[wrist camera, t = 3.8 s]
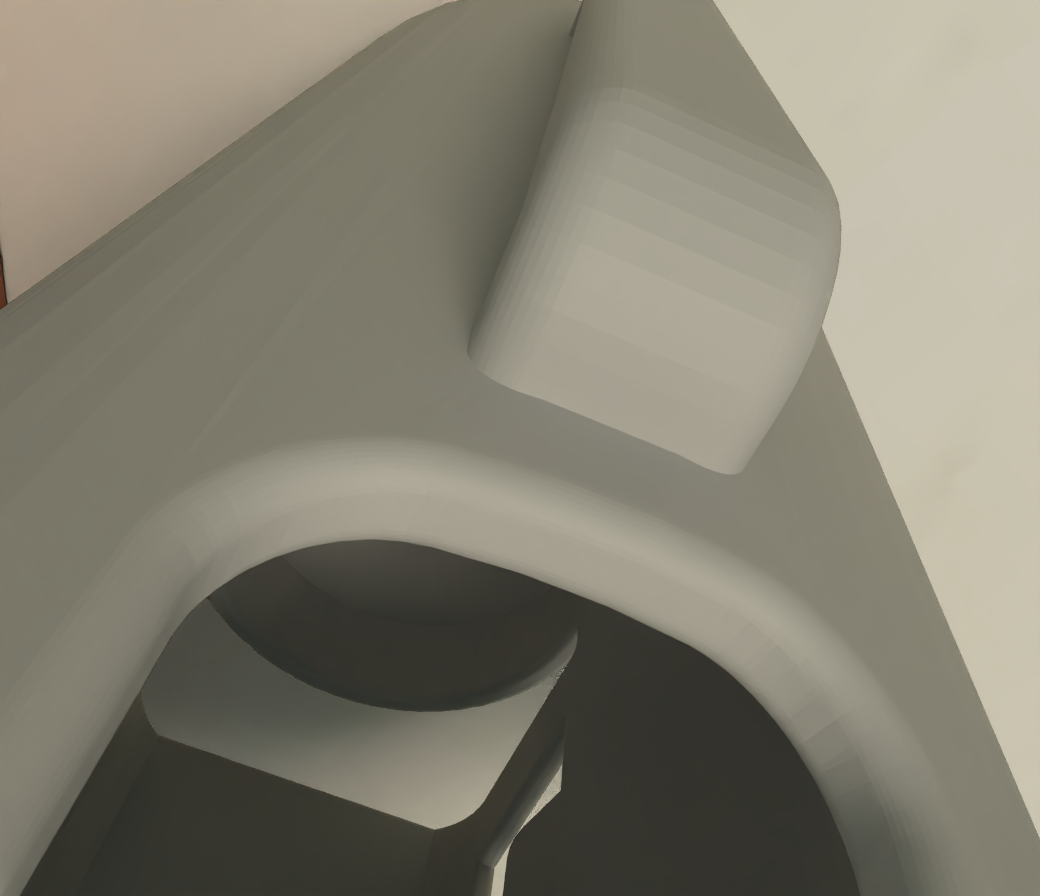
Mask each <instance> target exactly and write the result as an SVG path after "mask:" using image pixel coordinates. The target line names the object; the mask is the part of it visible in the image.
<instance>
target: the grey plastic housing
mask: <svg viewBox="0 0 1040 896" xmlns="http://www.w3.org/2000/svg"><path fill="white" fill-rule="evenodd" d="M840 246H841V219H840V211H839V204H838V201H837V198H836V195H835V193H834V190H833V188H832V185H831V183H830V181H829V180H828V178H827V176H826V175H825V173H824V171H823V170H822V168H821V167H820V165H819V164H818V162H817V161H816V159H815V158H814V156H813V154H812V153H811V151H810V150H809V148H808V147H807V145H806V144H805V142H804V141H803V139H802V138H801V136H800V134H799V133H798V131H797V130H796V128H795V127H794V125H793V124H792V122H791V121H790V119H789V117H788V116H787V114H786V113H785V111H784V110H783V108H782V107H781V105H780V104H779V102H778V100H777V99H776V97H775V96H774V94H773V93H772V91H771V90H770V88H769V87H768V85H767V83H766V82H765V80H764V79H763V77H762V76H761V74H760V73H759V71H758V70H757V68H756V66H755V65H754V63H753V62H752V60H751V59H750V57H749V56H748V54H747V53H746V51H745V49H744V48H743V46H742V45H741V43H740V42H739V40H738V39H737V37H736V36H735V34H734V33H733V31H732V29H731V28H730V26H729V25H728V23H727V22H726V20H725V19H724V17H723V16H722V14H721V12H720V11H719V9H718V8H717V6H716V5H715V3H714V2H713V0H582V2H581V1H577V0H460V1H456V2H451V3H447V4H444V5H442V6H440V7H437V8H435V9H432V10H430V11H427V12H425V13H423V14H420V15H418V16H415V17H413V18H411V19H409V20H407V21H406V22H404V23H403V24H401V25H400V26H398V27H396V28H395V29H393V30H392V31H390V32H388V33H387V34H385V35H384V36H382V37H380V38H379V39H377V40H376V41H375V42H373V43H372V44H370V45H369V46H368V47H366V48H365V49H363V50H362V51H361V52H359V53H358V54H357V55H355V56H354V57H352V58H351V59H350V60H348V61H347V62H345V63H344V64H343V65H341V66H340V67H338V68H337V69H336V70H334V71H333V72H331V73H330V74H329V75H327V76H326V77H324V78H323V79H322V80H320V81H319V82H317V83H316V84H315V85H313V86H312V87H310V88H309V89H308V90H306V91H305V92H303V93H302V94H301V95H299V96H298V97H296V98H295V99H294V100H292V101H291V102H290V103H288V104H287V105H285V106H284V107H283V108H281V109H280V110H278V111H277V112H276V113H274V114H273V115H271V116H270V117H269V118H267V119H266V120H264V121H263V122H262V123H260V124H259V125H257V126H256V127H255V128H253V129H252V130H250V131H249V132H248V133H246V134H245V135H243V136H242V137H241V138H239V139H238V140H236V141H235V142H234V143H232V144H231V145H229V146H228V147H227V148H225V149H224V150H223V151H221V152H220V153H218V154H217V155H216V156H214V157H213V158H211V159H210V160H209V161H207V162H206V163H204V164H203V165H202V166H200V167H199V168H197V169H196V170H195V171H193V172H192V173H190V174H189V175H188V176H186V177H185V178H183V179H182V180H181V181H179V182H178V183H176V184H175V185H174V186H172V187H171V188H169V189H168V190H167V191H165V192H164V193H162V194H161V195H160V196H158V197H157V198H156V199H154V200H153V201H151V202H150V203H149V204H147V205H146V206H144V207H143V208H142V209H140V210H139V211H137V212H136V213H135V214H133V215H132V216H130V217H129V218H128V219H126V220H125V221H123V222H122V223H121V224H119V225H118V226H116V227H115V228H114V229H112V230H111V231H109V232H108V233H107V234H105V235H104V236H102V237H101V238H100V239H98V240H97V241H95V242H94V243H93V244H91V245H90V246H89V247H87V248H86V249H84V250H83V251H82V252H80V253H79V254H77V255H76V256H75V257H73V258H72V259H70V260H69V261H68V262H66V263H65V264H63V265H62V266H61V267H59V268H58V269H56V270H55V271H54V272H52V273H51V274H49V275H48V276H47V277H45V278H44V279H42V280H41V281H40V282H38V283H37V284H35V285H34V286H33V287H31V288H30V289H29V290H27V291H26V292H24V293H23V294H22V295H20V296H19V297H17V298H16V299H15V300H13V301H12V302H10V303H9V304H8V305H6V306H5V307H3V308H2V309H1V310H0V896H491V890H492V882H493V875H494V867H495V866H496V865H497V863H498V862H499V860H500V859H501V857H502V855H503V854H504V852H505V851H506V849H507V848H508V846H509V845H510V843H511V842H512V840H513V839H514V840H513V842H512V844H511V846H510V849H509V853H508V857H507V864H506V872H505V881H504V889H503V896H1040V838H1039V836H1038V834H1037V831H1036V829H1035V827H1034V824H1033V822H1032V820H1031V817H1030V815H1029V813H1028V810H1027V808H1026V806H1025V803H1024V801H1023V799H1022V796H1021V794H1020V792H1019V789H1018V787H1017V785H1016V782H1015V780H1014V778H1013V775H1012V773H1011V771H1010V768H1009V766H1008V764H1007V761H1006V759H1005V757H1004V754H1003V752H1002V750H1001V747H1000V745H999V743H998V740H997V738H996V735H995V733H994V731H993V728H992V726H991V724H990V721H989V719H988V717H987V714H986V712H985V710H984V707H983V705H982V703H981V700H980V698H979V696H978V693H977V691H976V689H975V686H974V684H973V681H972V679H971V677H970V674H969V672H968V670H967V667H966V665H965V663H964V660H963V658H962V656H961V653H960V651H959V649H958V646H957V644H956V642H955V639H954V637H953V634H952V632H951V630H950V627H949V625H948V623H947V620H946V618H945V616H944V613H943V611H942V609H941V606H940V604H939V602H938V599H937V597H936V595H935V592H934V590H933V588H932V585H931V583H930V580H929V578H928V576H927V573H926V571H925V569H924V566H923V564H922V562H921V559H920V557H919V555H918V552H917V550H916V548H915V545H914V543H913V541H912V538H911V536H910V533H909V531H908V529H907V526H906V524H905V522H904V519H903V517H902V515H901V512H900V510H899V508H898V505H897V503H896V501H895V498H894V496H893V494H892V491H891V489H890V487H889V484H888V482H887V479H886V477H885V475H884V472H883V470H882V468H881V465H880V463H879V461H878V458H877V456H876V454H875V451H874V449H873V447H872V444H871V442H870V440H869V437H868V435H867V432H866V430H865V428H864V425H863V423H862V421H861V418H860V416H859V414H858V411H857V409H856V407H855V404H854V402H853V400H852V397H851V395H850V393H849V390H848V388H847V386H846V383H845V381H844V378H843V376H842V374H841V371H840V369H839V367H838V364H837V362H836V360H835V357H834V355H833V353H832V350H831V348H830V346H829V343H828V341H827V339H826V336H825V334H824V331H823V329H822V327H821V326H822V323H823V320H824V317H825V314H826V311H827V308H828V305H829V302H830V299H831V295H832V291H833V287H834V283H835V279H836V275H837V269H838V263H839V257H840ZM206 597H208V599H209V600H210V602H211V603H212V605H213V606H214V608H215V609H216V611H217V612H218V613H219V614H220V616H221V617H222V618H223V619H224V620H225V622H226V623H227V624H228V625H229V627H230V628H231V629H232V630H233V631H234V632H235V633H236V634H237V635H238V636H239V637H240V638H241V639H242V640H243V641H244V642H245V643H247V644H248V645H249V646H250V647H251V648H253V649H254V650H255V651H256V652H257V653H258V654H260V655H261V656H262V657H264V658H265V659H267V660H268V661H269V662H271V663H272V664H274V665H275V666H276V667H278V668H280V669H281V670H283V671H285V672H286V673H288V674H290V675H291V676H293V677H295V678H297V679H299V680H301V681H303V682H305V683H307V684H309V685H311V686H313V687H315V688H317V689H320V690H322V691H325V692H327V693H330V694H332V695H335V696H338V697H341V698H344V699H347V700H351V701H354V702H358V703H362V704H366V705H370V706H375V707H381V708H387V709H394V710H403V711H417V712H435V711H450V710H461V709H467V708H472V707H478V706H483V705H486V704H490V703H494V702H497V701H501V700H504V699H506V698H509V697H512V696H514V695H517V694H519V693H522V692H524V691H526V690H528V689H530V688H532V687H534V686H536V685H538V684H539V683H541V682H542V681H544V680H546V679H547V678H549V677H550V676H552V675H553V674H555V673H556V672H557V671H558V670H560V669H561V668H562V667H564V666H565V665H566V664H567V663H568V664H567V666H566V668H565V669H564V671H563V673H562V674H561V676H560V677H559V679H558V681H557V682H556V684H555V686H554V687H553V689H552V691H551V692H550V694H549V696H548V697H547V699H546V701H545V702H544V704H543V705H542V707H541V709H540V710H539V712H538V714H537V715H536V717H535V719H534V720H533V722H532V724H531V725H530V727H529V729H528V730H527V732H526V733H525V735H524V737H523V738H522V740H521V742H520V743H519V745H518V747H517V748H516V750H515V752H514V753H513V755H512V757H511V758H510V760H509V761H508V763H507V765H506V766H505V768H504V770H503V771H502V773H501V775H500V776H499V778H498V780H497V781H496V783H495V785H494V786H493V788H492V789H491V791H490V793H489V794H488V796H487V798H486V799H485V801H484V802H483V804H482V805H481V806H480V807H479V808H478V809H477V810H476V811H475V812H474V813H473V814H472V815H470V816H469V817H467V818H466V819H464V820H462V821H460V822H458V823H456V824H453V825H450V826H447V827H445V828H440V829H436V830H434V829H431V828H428V827H425V826H422V825H419V824H416V823H413V822H410V821H407V820H404V819H401V818H399V817H396V816H393V815H390V814H387V813H384V812H381V811H378V810H375V809H372V808H369V807H366V806H364V805H361V804H358V803H355V802H352V801H349V800H346V799H343V798H340V797H337V796H334V795H331V794H329V793H326V792H323V791H320V790H317V789H314V788H311V787H308V786H305V785H302V784H299V783H296V782H293V781H291V780H288V779H285V778H282V777H279V776H276V775H273V774H270V773H267V772H264V771H261V770H258V769H256V768H253V767H250V766H247V765H244V764H241V763H238V762H235V761H232V760H229V759H226V758H223V757H221V756H218V755H215V754H212V753H209V752H206V751H203V750H200V749H197V748H194V747H191V746H188V745H185V744H183V743H180V742H177V741H174V740H171V739H168V738H165V737H162V736H159V735H158V734H157V732H156V731H155V730H154V729H153V727H152V725H151V724H150V722H149V720H148V719H147V717H146V714H145V712H144V709H143V705H142V701H141V687H142V686H143V684H144V682H145V680H146V679H147V677H148V675H149V674H150V672H151V670H152V668H153V667H154V665H155V663H156V662H157V660H158V658H159V657H160V655H161V653H162V651H163V650H164V648H165V646H166V645H167V643H168V641H169V639H170V638H171V636H172V635H173V633H174V632H175V630H176V629H177V628H178V626H179V625H180V624H181V623H182V621H183V620H184V619H185V618H186V616H187V615H188V614H189V613H190V612H191V611H192V610H193V609H194V608H195V607H196V606H197V605H198V604H199V603H200V602H201V601H203V600H204V599H205V598H206ZM562 764H563V767H562V781H561V791H560V792H559V793H558V794H557V795H556V796H555V797H554V798H553V799H552V800H551V801H550V802H549V803H547V804H546V805H545V806H544V807H543V808H542V809H541V810H540V811H539V812H538V813H537V814H536V815H535V816H534V817H533V818H532V819H531V820H530V821H529V822H528V823H527V824H526V825H525V826H524V827H523V828H522V829H521V830H520V832H519V833H518V831H519V829H520V828H521V826H522V825H523V823H524V822H525V820H526V819H527V817H528V816H529V814H530V813H531V811H532V810H533V808H534V807H535V805H536V803H537V802H538V800H539V799H540V797H541V796H542V794H543V793H544V791H545V790H546V788H547V787H548V785H549V784H550V782H551V781H552V779H553V777H554V776H555V774H556V773H557V771H558V770H559V768H560V767H561V765H562ZM517 833H518V834H517ZM516 834H517V835H516ZM515 836H516V837H515ZM514 837H515V838H514Z"/></svg>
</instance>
